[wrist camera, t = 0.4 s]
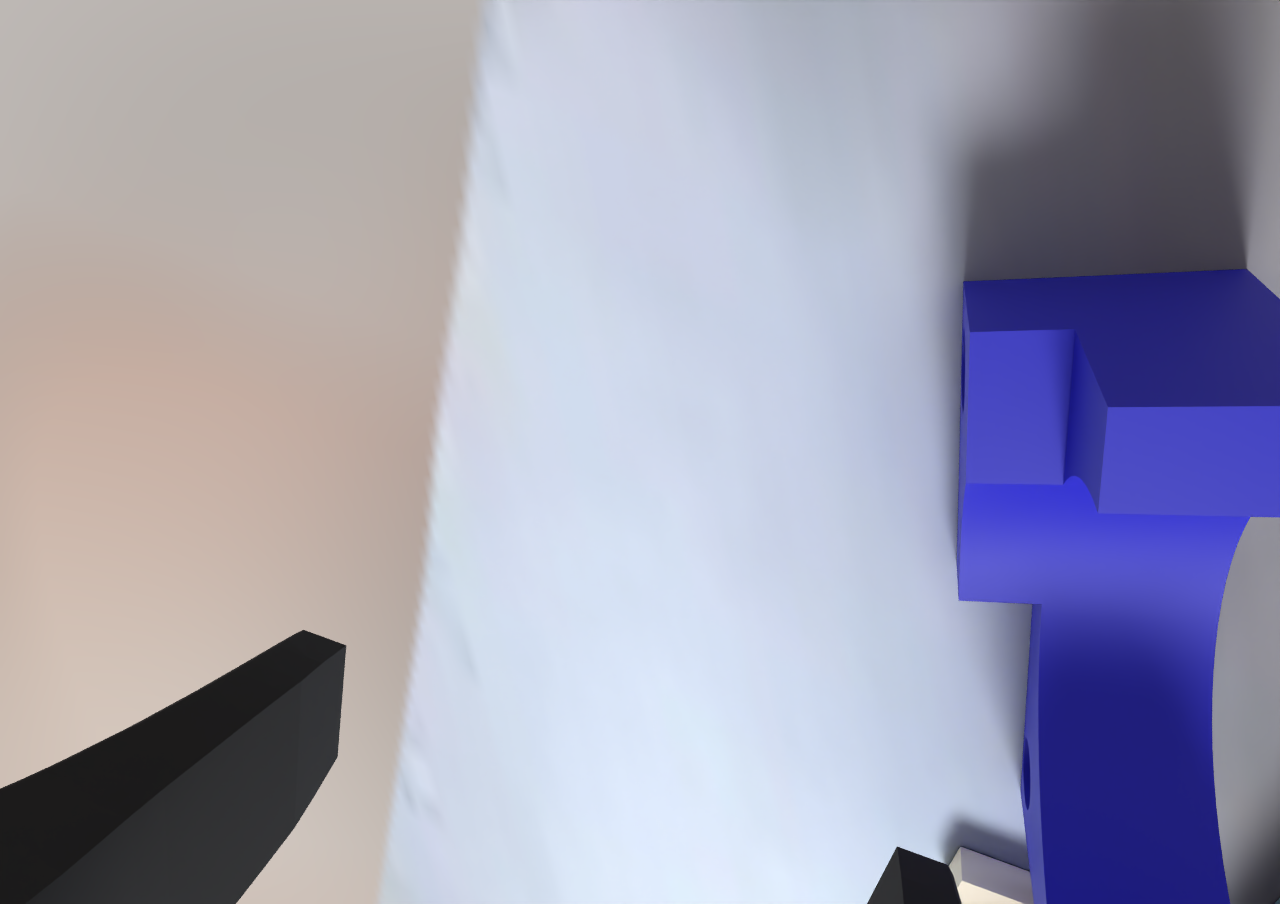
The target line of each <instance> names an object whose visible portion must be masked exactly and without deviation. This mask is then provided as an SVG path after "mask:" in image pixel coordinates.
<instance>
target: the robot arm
mask: <svg viewBox="0 0 1280 904" xmlns="http://www.w3.org/2000/svg"><path fill="white" fill-rule="evenodd" d="M345 653H346V645H344V644H340V643H338V642H335V641H332V640H330V639H327V638H324V637H322V636H319V635H316V634H313V633H311V632H308V631H305V630H302V631H300V632H298V633H296V634H294V635H292V636H291V637H289V638H287V639H285V640H284V641H282V642H280V643H278V644H277V645H275V646H273V647H271V648H270V649H268V650H266V651H265V652H263V653H261V654H259V655H258V656H256V657H254V658H253V659H251V660H249V661H247V662H246V663H244V664H242V665H240V666H239V667H237V668H235V669H234V670H232V671H231V672H228V673H227V674H225V675H223V676H221V677H220V678H218V679H216V680H214V681H213V682H211V683H209V684H207V685H206V686H204V687H202V688H200V689H199V690H197V691H195V692H193V693H191V694H190V695H188V696H186V697H184V698H182V699H180V700H179V701H177V702H175V703H173V704H171V705H169V706H168V707H166V708H164V709H162V710H160V711H158V712H157V713H155V714H153V715H151V716H149V717H148V718H146V719H144V720H142V721H140V722H138V723H136V724H134V725H133V726H131V727H129V728H127V729H125V730H123V731H121V732H119V733H117V734H115V735H113V736H111V737H109V738H107V739H105V740H103V741H101V742H99V743H97V744H95V745H93V746H91V747H89V748H87V749H85V750H83V751H81V752H79V753H77V754H75V755H72V756H70V757H69V758H67V759H65V760H62V761H60V762H58V763H56V764H54V765H52V766H50V767H48V768H45V769H44V770H41V771H39V772H37V773H35V774H33V775H30V776H28V777H26V778H24V779H21V780H19V781H17V782H15V783H12V784H10V785H8V786H5V787H3V788H1V789H0V904H236V903H237V902H238V900H239V899H240V898H241V896H242V895H243V894H244V892H245V891H246V890H247V889H248V888H249V886H250V885H251V884H252V882H253V881H254V880H255V878H256V877H257V876H258V875H259V873H260V872H261V871H262V870H263V868H264V867H265V866H266V864H267V863H268V862H269V860H270V859H271V858H272V857H273V855H274V854H275V853H276V851H277V850H278V848H279V847H280V846H281V845H282V844H283V842H284V841H285V840H286V838H287V837H288V836H289V834H290V833H291V831H292V830H293V829H294V827H295V826H296V824H297V823H298V821H299V820H300V818H301V816H302V815H303V813H304V812H305V810H306V808H307V807H308V805H309V804H310V802H311V800H312V799H313V797H314V796H315V794H316V792H317V790H318V789H319V787H320V785H321V784H322V782H323V781H324V779H325V777H326V775H327V774H328V772H329V770H330V769H331V767H332V765H333V764H334V762H335V760H336V759H337V756H338V743H339V730H340V718H341V704H342V692H343V679H344V678H343V677H344V667H345V666H344V665H345ZM867 904H962V902H961V899H960V896H959V893H958V889H957V886H956V882H955V879H954V876H953V874H952V872H951V870H950V868H949V866H948V865H946V864H943V863H941V862H938V861H935V860H932V859H930V858H927V857H924V856H922V855H919V854H916V853H913V852H911V851H908V850H905V849H902V848H900V847H897V848H896V850H895V852H894V853H893V855H892V857H891V859H890V861H889V863H888V865H887V867H886V869H885V871H884V873H883V874H882V876H881V878H880V880H879V882H878V884H877V886H876V888H875V890H874V892H873V894H872V895H871V897H870V899H869V901H868V903H867Z"/></svg>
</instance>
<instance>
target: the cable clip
mask: <svg viewBox="0 0 1280 904" xmlns="http://www.w3.org/2000/svg"><path fill="white" fill-rule="evenodd" d="M1250 517H1280V299H1279V298H1278V297H1277V296H1276V295H1275V294H1273V293H1272V292H1271V291H1270V290H1269V289H1268V288H1267V287H1266V286H1265V285H1264V284H1263V283H1261V282H1260V281H1259V280H1258V279H1257V278H1256V277H1255V276H1254V275H1253V274H1252V273H1251V272H1250V271H1248V270H1247V269H1237V270H1214V271H1191V272H1168V273H1146V274H1123V275H1100V276H1077V277H1055V278H1032V279H1009V280H986V281H964V282H963V323H962V365H961V407H960V450H959V492H958V534H957V578H958V596H959V600H960V601H982V602H1003V603H1024V604H1032V619H1031V634H1030V650H1029V666H1028V681H1027V697H1026V713H1025V729H1024V744H1023V760H1022V776H1021V799H1022V807H1023V816H1024V824H1025V833H1026V841H1027V850H1028V858H1029V867H1030V875H1031V884H1032V893H1033V901H1034V904H1230V899H1229V894H1228V889H1227V883H1226V877H1225V871H1224V865H1223V858H1222V851H1221V843H1220V836H1219V828H1218V818H1217V809H1216V798H1215V785H1214V770H1213V751H1212V690H1213V669H1214V656H1215V645H1216V637H1217V628H1218V621H1219V615H1220V609H1221V602H1222V598H1223V593H1224V588H1225V584H1226V579H1227V576H1228V572H1229V568H1230V565H1231V561H1232V558H1233V555H1234V552H1235V549H1236V547H1237V544H1238V541H1239V539H1240V537H1241V534H1242V532H1243V530H1244V528H1245V526H1246V524H1247V522H1248V520H1249V519H1250Z"/></svg>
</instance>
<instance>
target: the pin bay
mask: <svg viewBox="0 0 1280 904" xmlns="http://www.w3.org/2000/svg"><path fill="white" fill-rule="evenodd" d="M949 868H950V870H951V872H952V874H953V876H954V879H955V882H956V886H957V889H958V893H959V896H960V899H961V902H962V904H1034V901H1033V893H1032V884H1031V875H1030V872H1029V871H1026V870H1023V869H1021V868H1018V867H1015V866H1012V865H1010V864H1007V863H1004V862H1002V861H999V860H996V859H993V858H991V857H988V856H985V855H982V854H980V853H977V852H974V851H971V850H969V849H966V848H963V847H961V846H960V848H959V850H958V851H957V853H956V855H955V857H954V858H953V860H952V862H951V863H950V865H949ZM1275 904H1280V898H1279V899H1278V900H1277V901H1276V903H1275Z"/></svg>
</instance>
